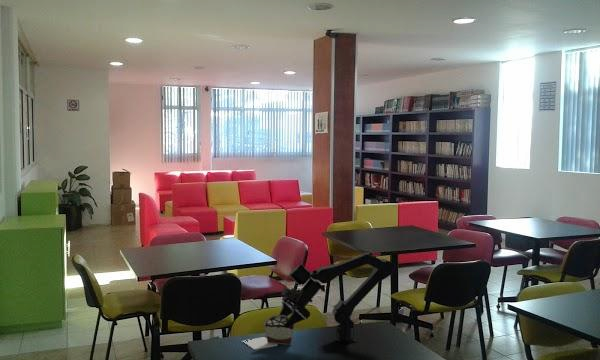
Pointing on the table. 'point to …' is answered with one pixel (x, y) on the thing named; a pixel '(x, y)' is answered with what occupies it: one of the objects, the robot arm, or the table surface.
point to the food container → (278, 330)
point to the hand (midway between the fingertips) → (281, 323)
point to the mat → (259, 343)
